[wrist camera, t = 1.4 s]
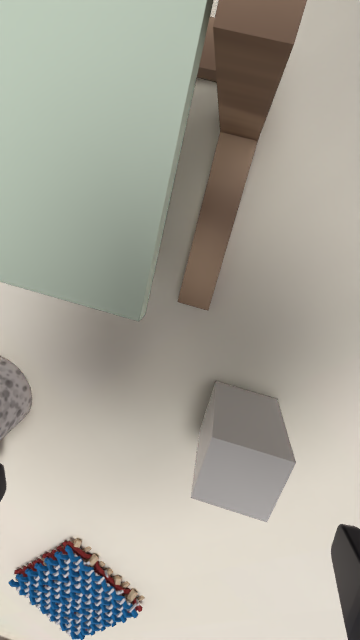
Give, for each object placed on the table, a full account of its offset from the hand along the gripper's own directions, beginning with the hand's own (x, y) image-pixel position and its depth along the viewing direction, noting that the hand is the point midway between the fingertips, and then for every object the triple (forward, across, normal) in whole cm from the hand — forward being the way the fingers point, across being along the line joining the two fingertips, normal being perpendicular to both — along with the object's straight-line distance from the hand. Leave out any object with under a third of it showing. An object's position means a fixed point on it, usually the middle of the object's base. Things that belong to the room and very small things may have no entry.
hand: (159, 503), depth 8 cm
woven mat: (+14, +10, +29) cm, 34 cm away
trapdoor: (+4, +6, -9) cm, 12 cm away
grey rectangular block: (+13, -3, +6) cm, 15 cm away
